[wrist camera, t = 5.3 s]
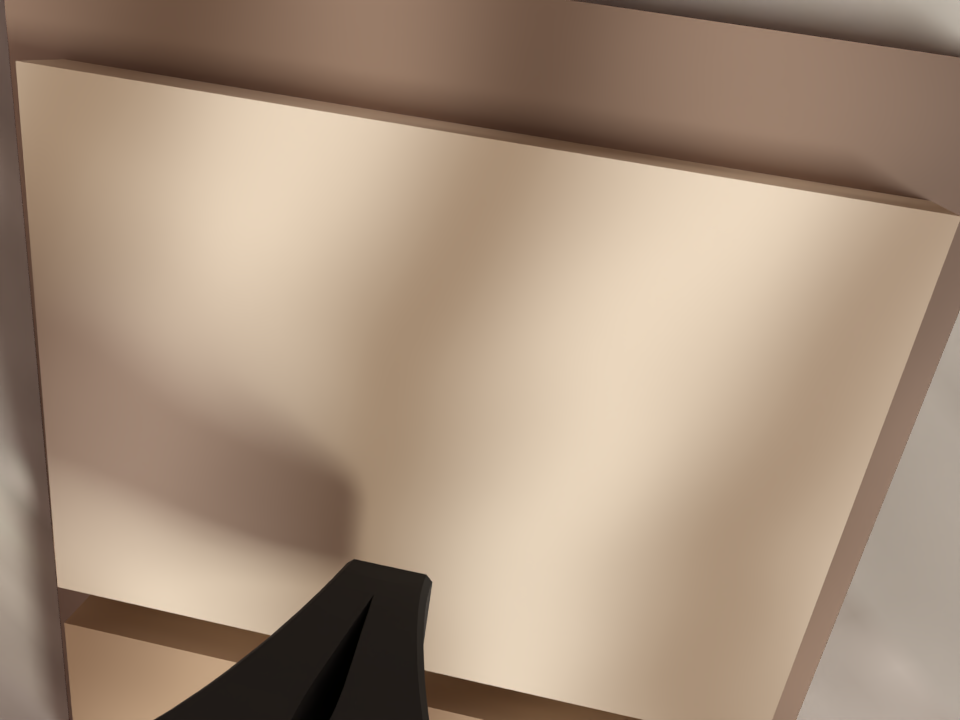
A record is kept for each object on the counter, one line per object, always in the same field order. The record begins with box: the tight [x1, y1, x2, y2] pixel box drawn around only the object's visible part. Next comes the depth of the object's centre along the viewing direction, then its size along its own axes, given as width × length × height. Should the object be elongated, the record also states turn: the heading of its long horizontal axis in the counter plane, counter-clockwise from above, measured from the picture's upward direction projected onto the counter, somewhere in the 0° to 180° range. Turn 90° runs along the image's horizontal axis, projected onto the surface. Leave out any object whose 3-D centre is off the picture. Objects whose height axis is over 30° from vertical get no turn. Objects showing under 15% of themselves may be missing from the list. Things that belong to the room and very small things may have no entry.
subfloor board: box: [4, 0, 960, 720], centre depth 16 cm, size 16×20×3 cm
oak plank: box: [16, 59, 960, 720], centre depth 14 cm, size 14×10×1 cm
